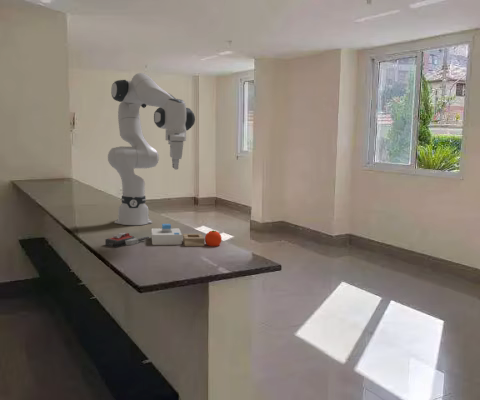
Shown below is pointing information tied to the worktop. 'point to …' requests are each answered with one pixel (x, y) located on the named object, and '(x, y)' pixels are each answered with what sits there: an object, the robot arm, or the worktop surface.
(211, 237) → the clementine
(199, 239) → the holster
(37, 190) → the worktop surface
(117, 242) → the walkie-talkie
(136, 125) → the robot arm
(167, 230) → the plug
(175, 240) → the port
